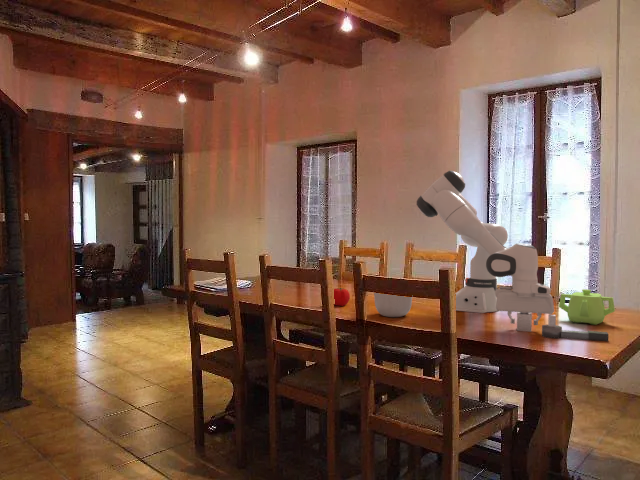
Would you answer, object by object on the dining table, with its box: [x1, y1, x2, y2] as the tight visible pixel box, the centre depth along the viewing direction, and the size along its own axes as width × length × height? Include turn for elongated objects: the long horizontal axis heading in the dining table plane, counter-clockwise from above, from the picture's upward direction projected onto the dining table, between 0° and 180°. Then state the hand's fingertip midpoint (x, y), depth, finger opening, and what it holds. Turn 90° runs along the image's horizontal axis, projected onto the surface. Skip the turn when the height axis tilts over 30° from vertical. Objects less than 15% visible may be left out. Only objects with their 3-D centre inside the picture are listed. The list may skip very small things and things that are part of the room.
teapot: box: [558, 288, 616, 326], centre depth 209 cm, size 18×20×13 cm
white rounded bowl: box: [373, 292, 413, 318], centre depth 225 cm, size 17×17×15 cm
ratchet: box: [541, 314, 609, 342], centre depth 184 cm, size 21×6×8 cm, turn 70°
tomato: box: [333, 287, 351, 307], centre depth 250 cm, size 9×10×8 cm
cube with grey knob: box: [516, 312, 533, 333], centre depth 197 cm, size 5×5×7 cm
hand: (524, 324), depth 197 cm, fingers open, 7 cm apart
